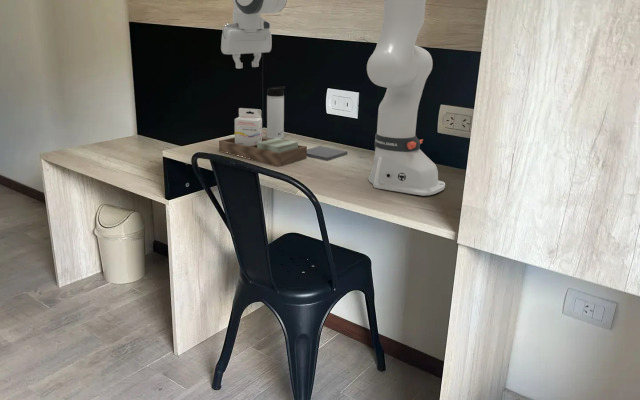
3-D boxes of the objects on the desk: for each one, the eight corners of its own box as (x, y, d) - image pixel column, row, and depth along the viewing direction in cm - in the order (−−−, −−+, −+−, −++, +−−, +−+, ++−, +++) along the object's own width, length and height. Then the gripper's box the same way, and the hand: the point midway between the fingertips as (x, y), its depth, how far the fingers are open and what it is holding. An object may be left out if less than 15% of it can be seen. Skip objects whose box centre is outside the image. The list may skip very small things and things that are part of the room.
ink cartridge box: (234, 153, 190) (233, 109, 186) (238, 149, 195) (237, 107, 190) (258, 154, 189) (258, 111, 184) (262, 151, 194) (262, 109, 189)
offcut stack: (299, 159, 186) (300, 141, 184) (279, 165, 177) (279, 147, 175) (275, 154, 191) (275, 137, 189) (254, 160, 182) (254, 142, 180)
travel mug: (283, 141, 209) (284, 87, 202) (266, 141, 209) (266, 87, 202) (285, 138, 214) (285, 85, 208) (268, 137, 215) (268, 85, 208)
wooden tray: (306, 158, 186) (306, 146, 185) (279, 166, 176) (279, 154, 174) (247, 145, 201) (247, 134, 200) (219, 152, 191) (218, 140, 189)
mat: (347, 154, 193) (347, 151, 193) (327, 160, 184) (327, 157, 184) (319, 148, 200) (319, 145, 199) (298, 154, 191) (298, 151, 190)
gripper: (230, 23, 169) (231, 70, 173) (274, 23, 184) (274, 66, 189) (215, 23, 172) (217, 68, 177) (260, 23, 188) (261, 65, 192)
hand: (247, 67), depth 183 cm, fingers open, 6 cm apart
